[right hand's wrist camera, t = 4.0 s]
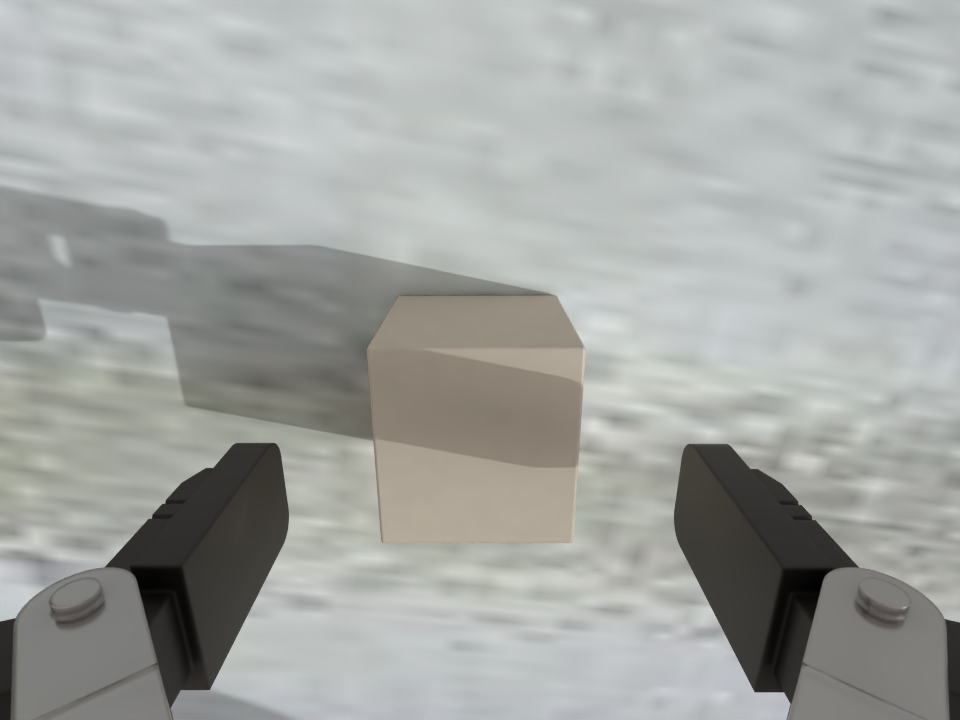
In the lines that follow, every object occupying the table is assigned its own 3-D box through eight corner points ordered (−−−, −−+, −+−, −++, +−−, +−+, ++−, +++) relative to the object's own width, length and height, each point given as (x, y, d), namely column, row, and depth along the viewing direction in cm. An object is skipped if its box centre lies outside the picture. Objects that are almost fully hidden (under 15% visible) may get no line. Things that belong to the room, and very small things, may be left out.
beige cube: (557, 294, 16) (586, 347, 12) (550, 447, 18) (573, 544, 13) (397, 295, 16) (365, 347, 12) (405, 447, 18) (380, 544, 13)
